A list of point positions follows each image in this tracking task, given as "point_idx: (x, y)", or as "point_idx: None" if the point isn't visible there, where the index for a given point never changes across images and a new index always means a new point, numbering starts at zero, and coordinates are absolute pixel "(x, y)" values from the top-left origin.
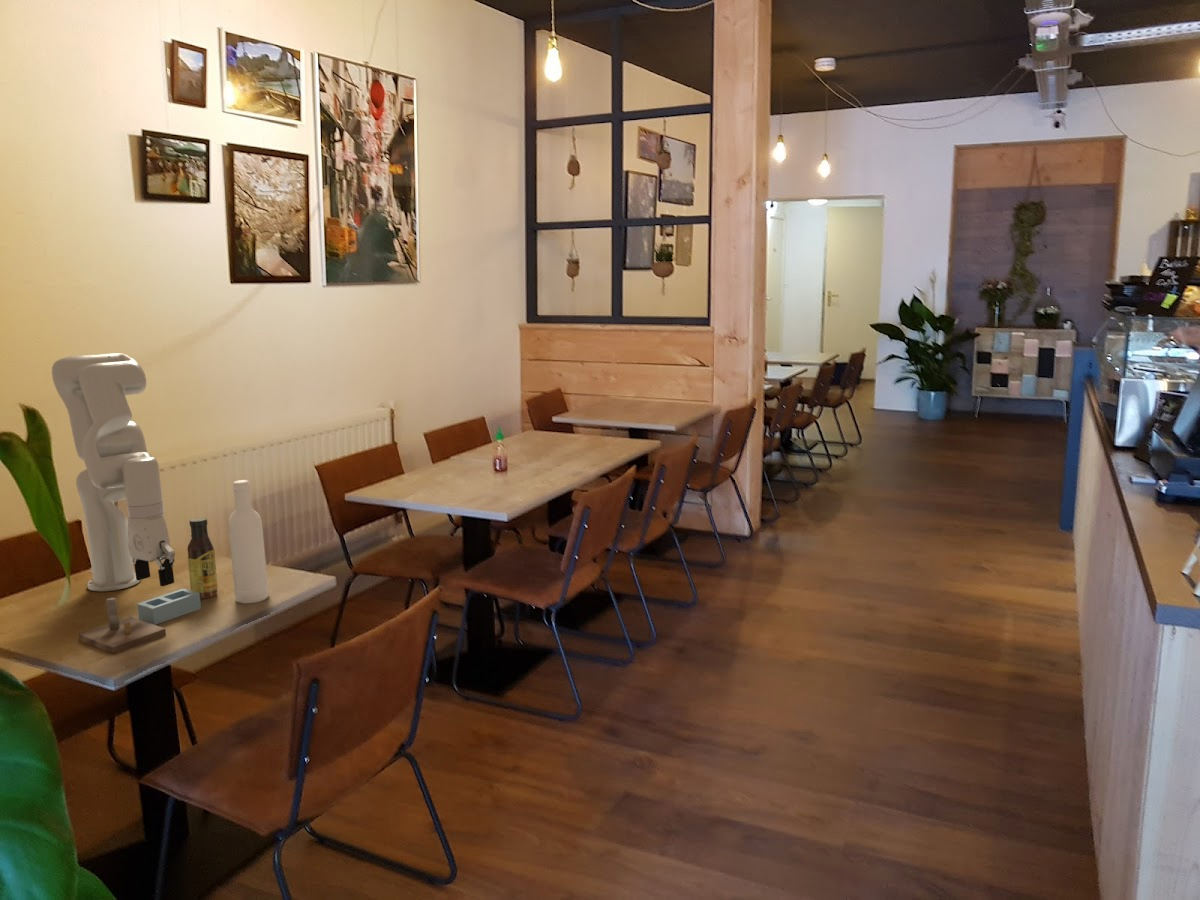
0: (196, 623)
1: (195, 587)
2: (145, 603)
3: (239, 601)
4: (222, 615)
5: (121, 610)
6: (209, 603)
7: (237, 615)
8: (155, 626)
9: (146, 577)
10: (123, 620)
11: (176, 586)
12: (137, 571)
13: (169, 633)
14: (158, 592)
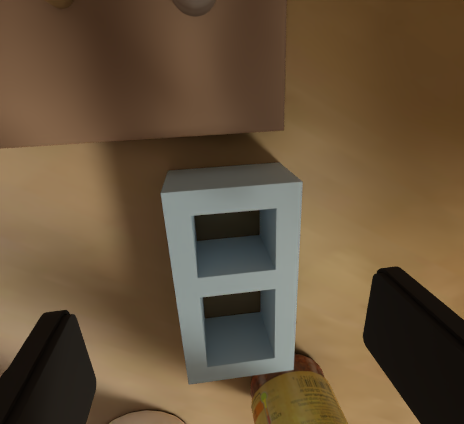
0: (55, 270)
1: (285, 392)
2: (265, 207)
3: (134, 415)
4: None
5: (427, 170)
6: None
7: None
8: (58, 135)
9: (367, 321)
10: (266, 84)
11: None
12: (424, 319)
13: (18, 161)
14: None
